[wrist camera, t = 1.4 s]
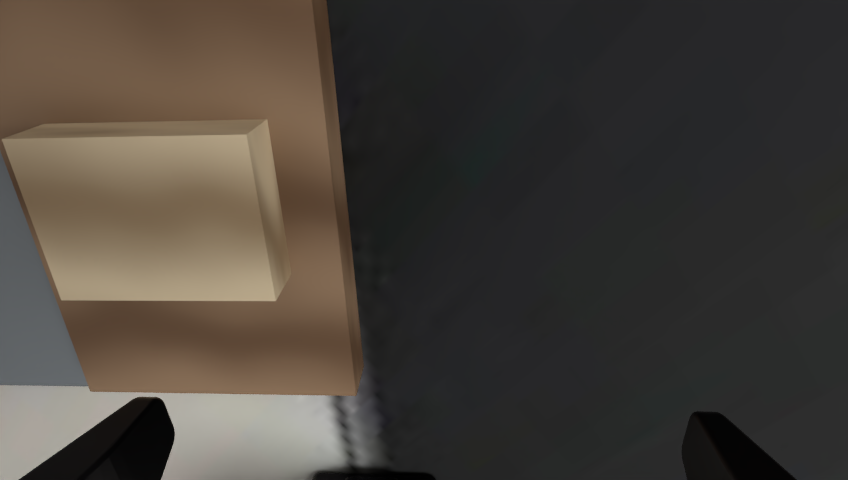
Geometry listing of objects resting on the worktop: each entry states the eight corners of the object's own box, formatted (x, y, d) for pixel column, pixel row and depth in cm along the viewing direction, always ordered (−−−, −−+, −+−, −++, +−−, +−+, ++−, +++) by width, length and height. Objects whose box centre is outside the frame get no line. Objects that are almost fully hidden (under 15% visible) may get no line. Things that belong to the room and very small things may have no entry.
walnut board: (363, 366, 26) (356, 395, 24) (115, 363, 27) (90, 391, 25) (318, -82, 18) (301, -88, 16) (-31, -66, 19) (-83, -70, 17)
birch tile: (291, 273, 21) (275, 301, 20) (94, 273, 22) (61, 300, 20) (266, 119, 19) (246, 134, 17) (44, 123, 19) (1, 139, 18)
